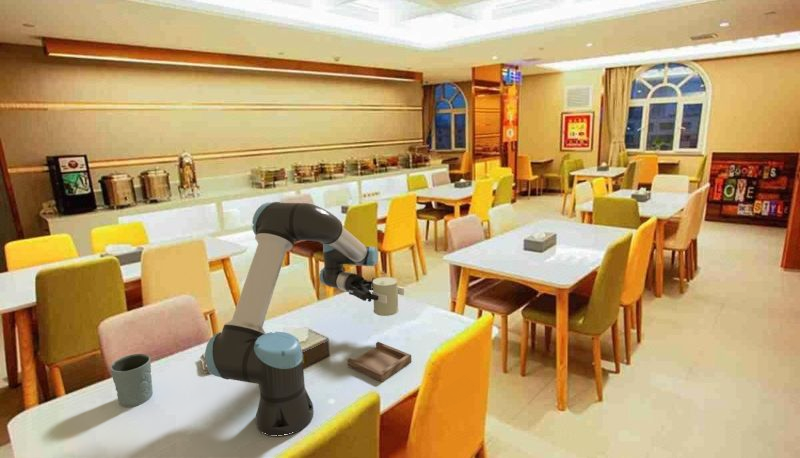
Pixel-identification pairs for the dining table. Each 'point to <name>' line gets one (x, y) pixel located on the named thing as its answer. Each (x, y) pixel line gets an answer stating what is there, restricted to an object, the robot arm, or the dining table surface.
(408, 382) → the dining table surface
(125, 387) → the grey embossed cup
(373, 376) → the tray
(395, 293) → the can
